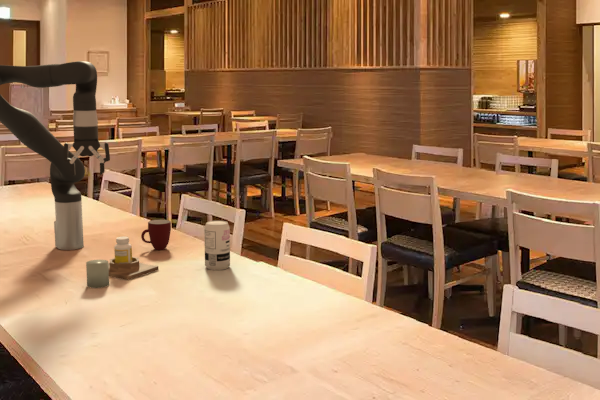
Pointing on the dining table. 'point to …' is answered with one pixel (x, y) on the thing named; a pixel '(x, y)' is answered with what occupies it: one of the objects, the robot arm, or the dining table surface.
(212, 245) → the supplement can
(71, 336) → the dining table surface
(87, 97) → the robot arm
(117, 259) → the supplement bottle
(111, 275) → the caddy
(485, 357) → the dining table surface
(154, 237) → the mug
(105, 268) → the sage green domed cylinder
